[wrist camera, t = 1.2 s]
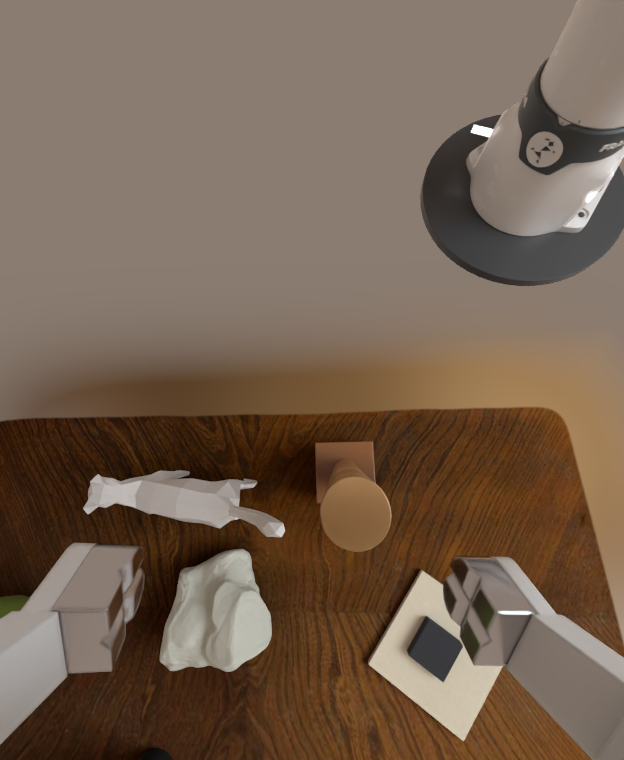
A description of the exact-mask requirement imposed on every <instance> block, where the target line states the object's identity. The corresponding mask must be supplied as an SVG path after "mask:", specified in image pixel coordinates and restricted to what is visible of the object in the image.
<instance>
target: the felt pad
mask: <svg viewBox="0 0 624 760" xmlns="http://www.w3.org/2000/svg"><path fill="white" fill-rule="evenodd" d="M462 648H463V645H462V643H461V642H460V640H458V639H457V638H456V637H454V636H453V635H452V634H450V633H449V632H448V631H446V630H445V629H444V628H442V627H441V626H440V625H438V624H437V623H436V622H434V621H433V620H432V619H430V618H429V617H428V616H426V617H425V619H424V621H423V622H422V624H421V626H420V628H419V629H418V631H417V633H416V635H415V636H414V638H413V640H412V642H411V644H410V645H409V647H408V649H407V652H408V655H409V656H410V657H411V658H412V659H414V660H415V661H416V662H418V663H419V664H420V665H421V666H423V667H424V668H425V669H426V670H428V671H429V672H430V673H432V674H433V675H434V676H435V677H437V678H438V679H439V680H440V681H442V682H444V681H445V679H446V677H447V675H448V674H449V672H450V670H451V668H452V666H453V664H454V663H455V661H456V659H457V657H458V655H459V653H460V651H461V650H462Z"/></svg>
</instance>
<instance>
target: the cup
mask: <svg viewBox="0 0 624 760" xmlns="http://www.w3.org/2000/svg"><path fill="white" fill-rule="evenodd" d="M138 760H172V758H171V757H170V756H169V754H168V753H167V752H165V751H164V750H161V749H158V748H153V749H149V750H147V751H146V752H144V753H143V754H142V755H141V756H140V757H139V758H138Z"/></svg>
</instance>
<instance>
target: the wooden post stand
mask: <svg viewBox="0 0 624 760" xmlns="http://www.w3.org/2000/svg"><path fill="white" fill-rule="evenodd" d="M315 459H316V497H317V503H321V507H320V518H321V523H322V526H323V529H324V531H325V533H326V534H327V536H328V537H329V538H330V539H331V541H332V542H334V543H335V544H336V545H337V546H339V547H341V548H343V549H345V550H348V551H354V552H361V551H366V550H369V549H372V548H373V547H375V546H377V545H378V544H379V543H380V542H381V541H382V540H383V539H384V538H385V536H386V534H387V533H388V530H389V528H390V524H391V507H390V503H389V501H388V498H387V496H386V495H385V493H384V492H383V490H382V489H381V488H380V487H379V486H378V485H377V484H376V483H375V467H374V452H373V441H363V442H327V443H315Z"/></svg>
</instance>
